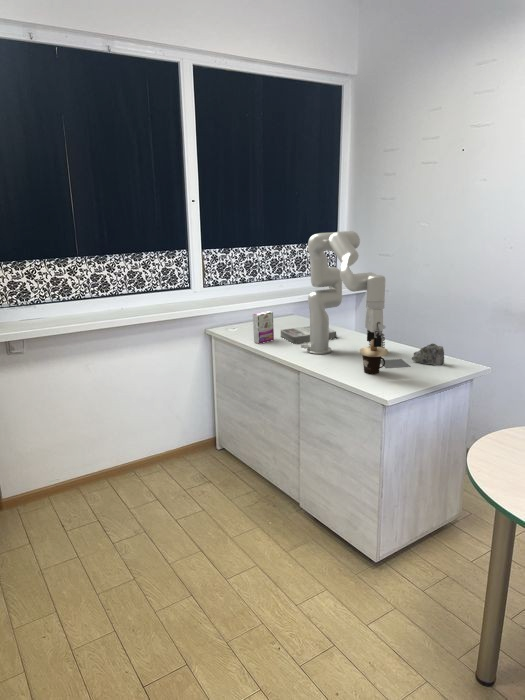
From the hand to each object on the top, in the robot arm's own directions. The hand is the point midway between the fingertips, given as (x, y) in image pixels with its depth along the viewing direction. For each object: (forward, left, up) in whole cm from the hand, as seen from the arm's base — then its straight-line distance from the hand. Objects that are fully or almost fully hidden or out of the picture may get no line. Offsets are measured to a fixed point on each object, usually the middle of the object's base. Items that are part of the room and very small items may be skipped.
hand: (373, 343), depth 218 cm
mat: (+14, +12, -14) cm, 23 cm away
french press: (+12, +31, -14) cm, 36 cm away
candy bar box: (-41, +66, -14) cm, 79 cm away
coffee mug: (0, 0, -14) cm, 14 cm away
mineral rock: (+31, +10, -14) cm, 35 cm away
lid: (0, 0, -4) cm, 4 cm away
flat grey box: (-15, +70, -15) cm, 73 cm away
